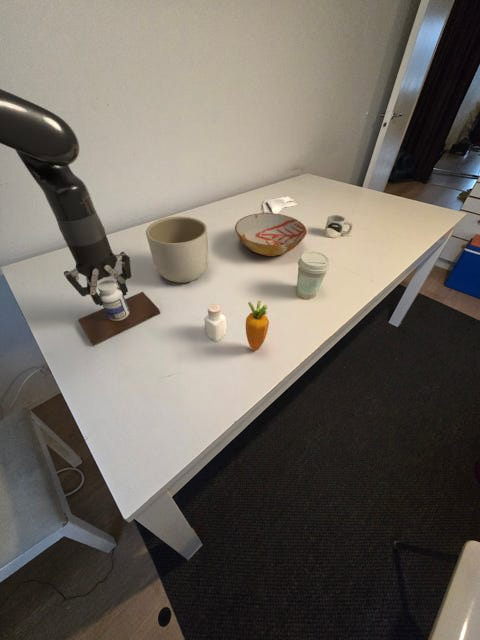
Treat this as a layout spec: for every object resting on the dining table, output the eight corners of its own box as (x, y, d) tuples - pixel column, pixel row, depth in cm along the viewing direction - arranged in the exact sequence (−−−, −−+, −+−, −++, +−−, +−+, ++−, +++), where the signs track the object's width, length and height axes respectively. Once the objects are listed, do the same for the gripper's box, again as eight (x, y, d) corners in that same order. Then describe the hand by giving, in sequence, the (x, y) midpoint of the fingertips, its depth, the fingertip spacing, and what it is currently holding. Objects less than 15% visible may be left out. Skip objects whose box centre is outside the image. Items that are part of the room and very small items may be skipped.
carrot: (240, 348, 63) (241, 302, 53) (255, 339, 65) (260, 292, 55) (253, 362, 61) (257, 315, 50) (269, 352, 63) (276, 305, 52)
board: (93, 346, 63) (91, 342, 62) (79, 323, 68) (77, 319, 67) (160, 313, 72) (159, 309, 70) (143, 295, 77) (142, 291, 76)
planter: (155, 292, 78) (142, 245, 67) (158, 261, 90) (148, 217, 79) (211, 287, 80) (208, 242, 69) (208, 257, 92) (205, 215, 81)
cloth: (281, 195, 136) (281, 190, 134) (302, 202, 129) (303, 198, 127) (246, 209, 122) (246, 204, 121) (268, 218, 116) (269, 213, 114)
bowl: (253, 273, 85) (254, 252, 80) (224, 239, 102) (224, 219, 96) (316, 258, 93) (321, 237, 87) (280, 228, 109) (282, 208, 103)
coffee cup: (287, 295, 78) (293, 260, 70) (299, 281, 83) (306, 247, 75) (313, 306, 75) (324, 271, 66) (324, 291, 80) (335, 256, 71)
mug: (323, 237, 104) (327, 220, 99) (323, 229, 109) (327, 213, 104) (349, 240, 103) (355, 224, 98) (348, 232, 107) (354, 216, 103)
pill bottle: (114, 306, 71) (101, 277, 64) (133, 308, 70) (122, 279, 64) (104, 320, 67) (89, 290, 60) (124, 322, 67) (111, 293, 60)
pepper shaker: (216, 326, 68) (214, 298, 62) (227, 334, 67) (226, 306, 60) (205, 335, 66) (201, 307, 59) (216, 343, 64) (214, 315, 58)
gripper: (112, 219, 58) (133, 281, 70) (41, 238, 52) (77, 303, 64) (127, 231, 54) (146, 294, 66) (51, 254, 48) (87, 320, 60)
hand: (112, 298), depth 65 cm, fingers closed on pill bottle, 5 cm apart
